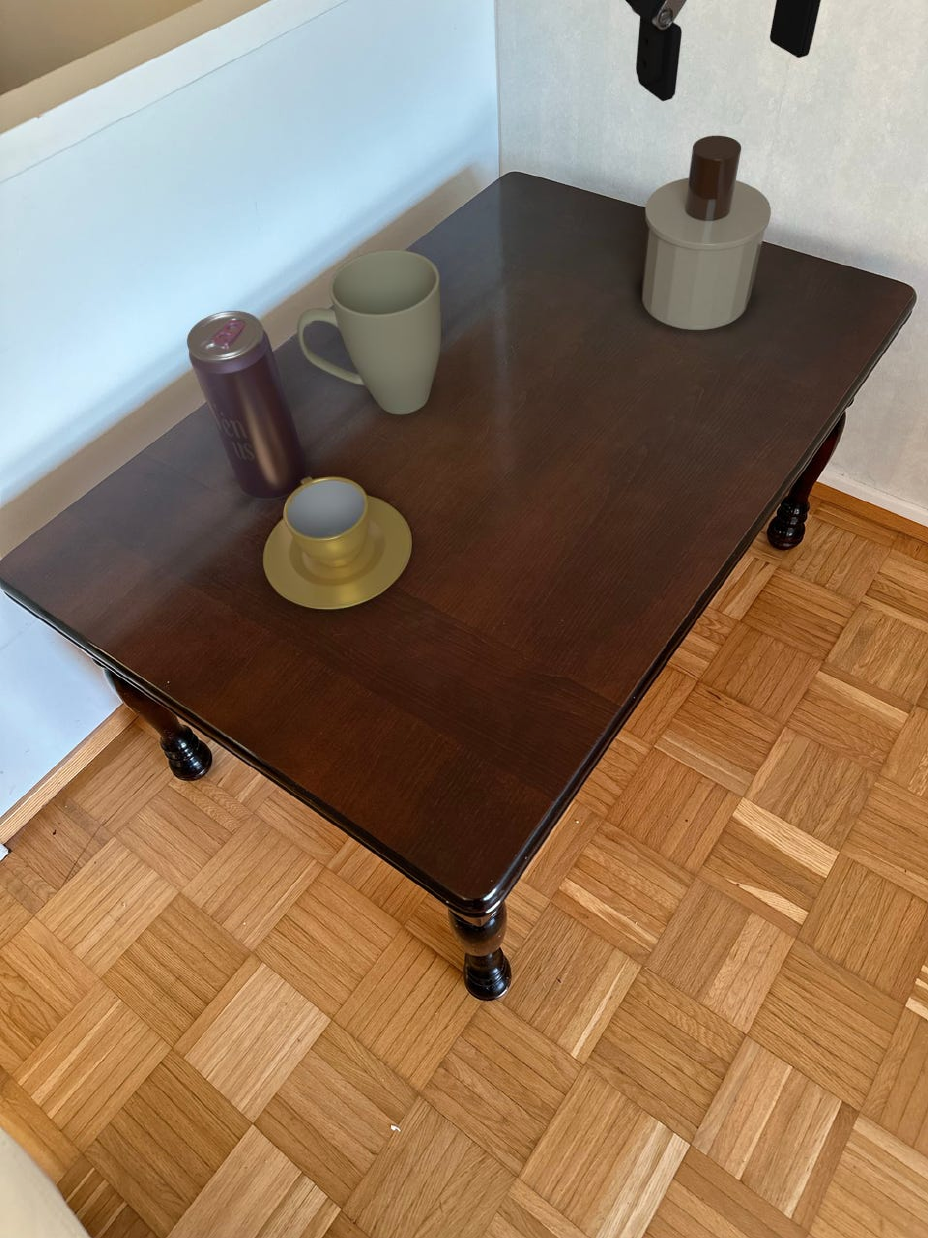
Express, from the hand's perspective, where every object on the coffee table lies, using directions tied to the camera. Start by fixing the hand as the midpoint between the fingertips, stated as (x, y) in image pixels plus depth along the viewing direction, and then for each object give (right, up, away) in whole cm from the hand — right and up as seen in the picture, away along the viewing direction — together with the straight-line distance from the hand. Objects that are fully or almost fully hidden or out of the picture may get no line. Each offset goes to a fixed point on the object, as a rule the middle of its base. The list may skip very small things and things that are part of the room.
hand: (722, 69), depth 56 cm
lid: (+6, +2, +26) cm, 26 cm away
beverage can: (-32, -22, +22) cm, 45 cm away
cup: (-26, -29, +17) cm, 42 cm away
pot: (+6, -3, +32) cm, 33 cm away
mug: (-23, -14, +27) cm, 38 cm away
